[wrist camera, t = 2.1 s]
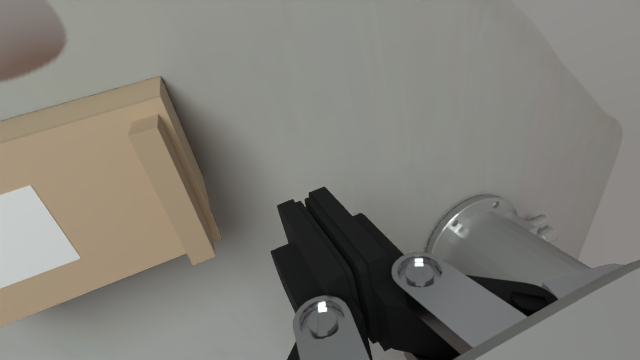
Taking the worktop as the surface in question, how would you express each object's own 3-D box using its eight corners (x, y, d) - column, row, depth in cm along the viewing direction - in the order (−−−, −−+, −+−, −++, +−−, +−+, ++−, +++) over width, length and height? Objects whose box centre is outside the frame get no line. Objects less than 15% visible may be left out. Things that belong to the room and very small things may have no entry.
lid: (160, 94, 18) (159, 108, 15) (220, 234, 22) (227, 263, 19) (-272, 221, 14) (-369, 267, 12) (-102, 360, 18) (-146, 417, 16)
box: (160, 76, 25) (159, 100, 18) (203, 177, 29) (215, 228, 22) (-119, 154, 21) (-251, 221, 14) (-27, 258, 25) (-98, 350, 18)
